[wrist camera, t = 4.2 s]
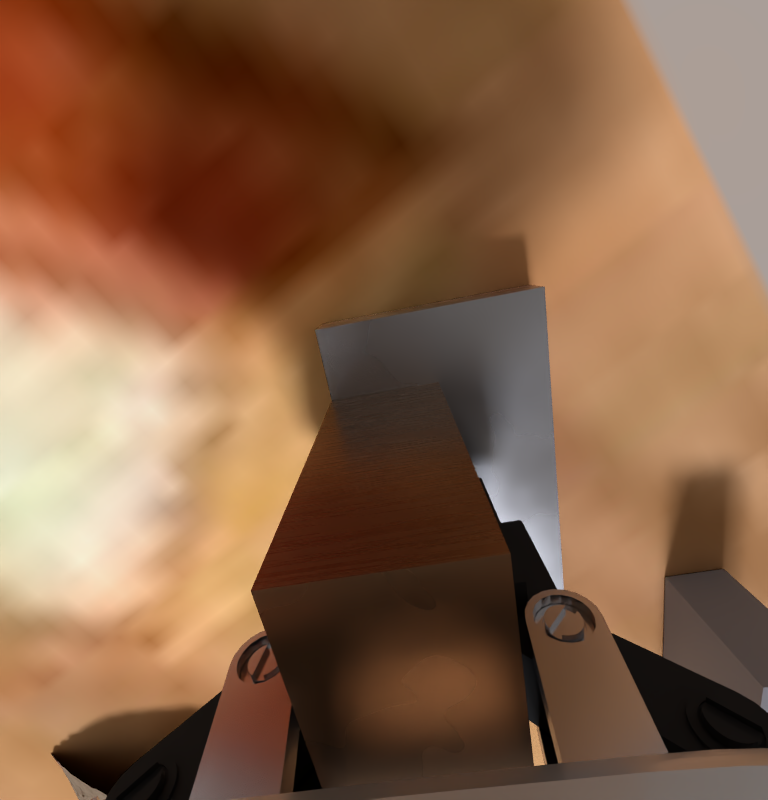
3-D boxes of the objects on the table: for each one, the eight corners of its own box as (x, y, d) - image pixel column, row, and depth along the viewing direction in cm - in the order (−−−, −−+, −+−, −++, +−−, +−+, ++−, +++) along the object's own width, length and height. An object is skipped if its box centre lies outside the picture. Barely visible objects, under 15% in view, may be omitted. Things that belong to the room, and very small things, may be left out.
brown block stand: (322, 324, 12) (194, 434, 4) (529, 284, 11) (822, 325, 4) (394, 635, 16) (399, 1004, 8) (553, 613, 15) (726, 982, 7)
